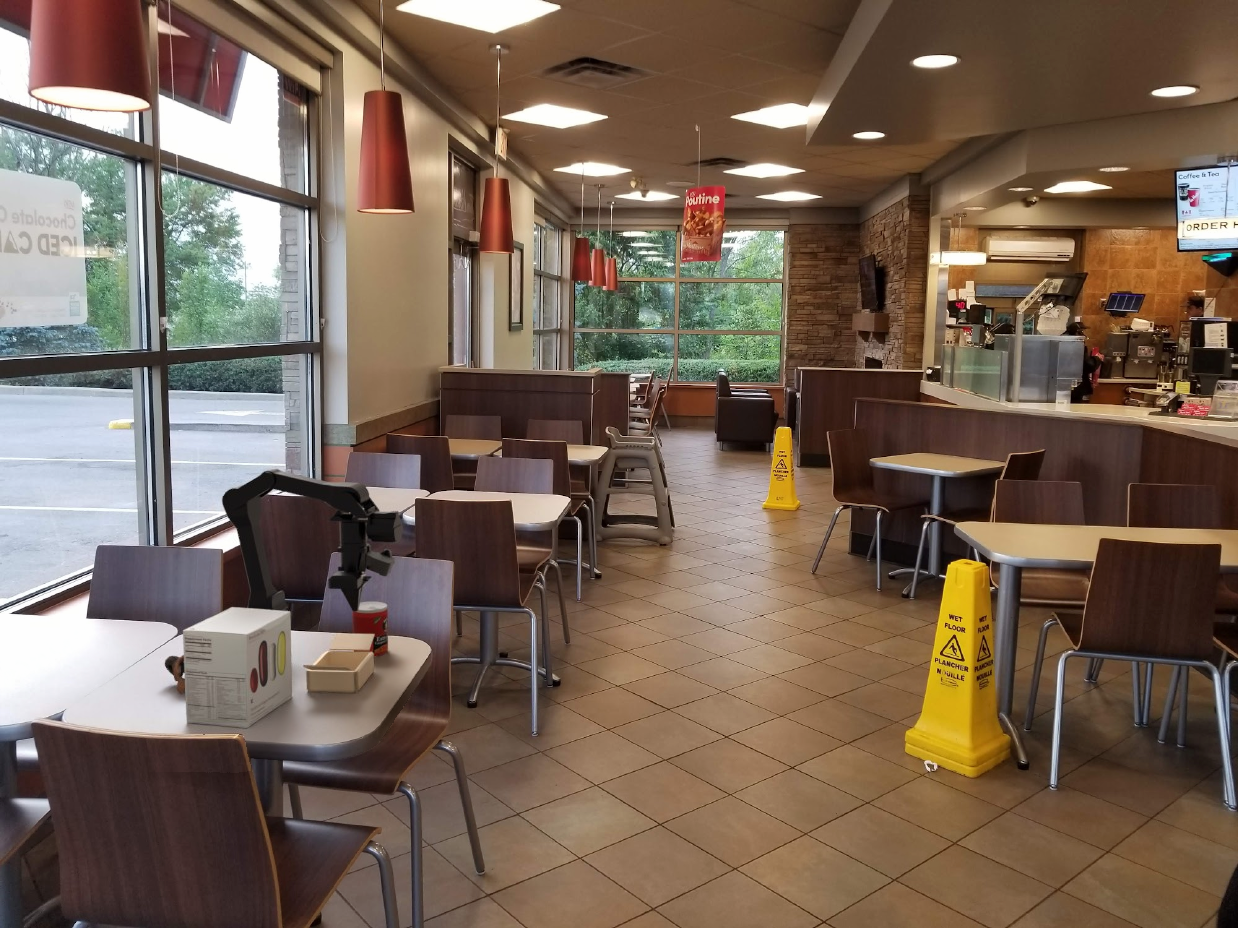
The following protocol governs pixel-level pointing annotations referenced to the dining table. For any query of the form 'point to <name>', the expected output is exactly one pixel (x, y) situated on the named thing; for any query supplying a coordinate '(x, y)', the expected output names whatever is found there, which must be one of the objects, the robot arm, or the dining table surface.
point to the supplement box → (237, 666)
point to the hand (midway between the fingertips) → (355, 610)
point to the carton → (340, 672)
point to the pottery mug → (176, 671)
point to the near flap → (327, 667)
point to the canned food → (372, 625)
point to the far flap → (352, 642)
